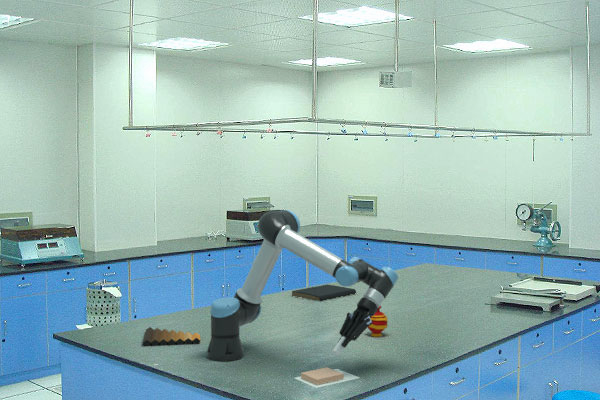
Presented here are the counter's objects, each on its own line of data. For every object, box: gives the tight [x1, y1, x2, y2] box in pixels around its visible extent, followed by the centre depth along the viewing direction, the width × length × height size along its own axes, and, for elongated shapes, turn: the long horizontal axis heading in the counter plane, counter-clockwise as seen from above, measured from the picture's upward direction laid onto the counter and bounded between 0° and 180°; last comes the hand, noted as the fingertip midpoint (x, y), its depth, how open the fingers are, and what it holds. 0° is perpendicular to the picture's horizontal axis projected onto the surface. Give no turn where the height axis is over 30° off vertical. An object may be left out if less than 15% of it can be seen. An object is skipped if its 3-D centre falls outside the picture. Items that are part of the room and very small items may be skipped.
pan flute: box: [142, 326, 201, 347], centre depth 310 cm, size 25×3×25 cm
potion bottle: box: [367, 305, 389, 338], centre depth 315 cm, size 10×10×15 cm
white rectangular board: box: [294, 368, 361, 389], centre depth 249 cm, size 20×14×1 cm
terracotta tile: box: [300, 366, 344, 385], centre depth 247 cm, size 2×10×12 cm
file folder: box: [291, 284, 357, 302], centre depth 417 cm, size 33×4×24 cm
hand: (335, 352), depth 250 cm, fingers closed
